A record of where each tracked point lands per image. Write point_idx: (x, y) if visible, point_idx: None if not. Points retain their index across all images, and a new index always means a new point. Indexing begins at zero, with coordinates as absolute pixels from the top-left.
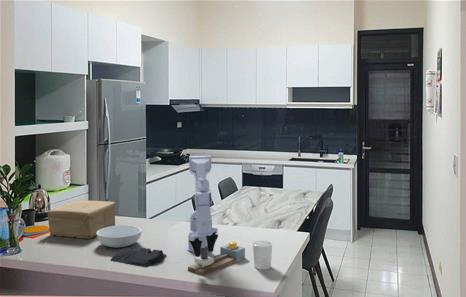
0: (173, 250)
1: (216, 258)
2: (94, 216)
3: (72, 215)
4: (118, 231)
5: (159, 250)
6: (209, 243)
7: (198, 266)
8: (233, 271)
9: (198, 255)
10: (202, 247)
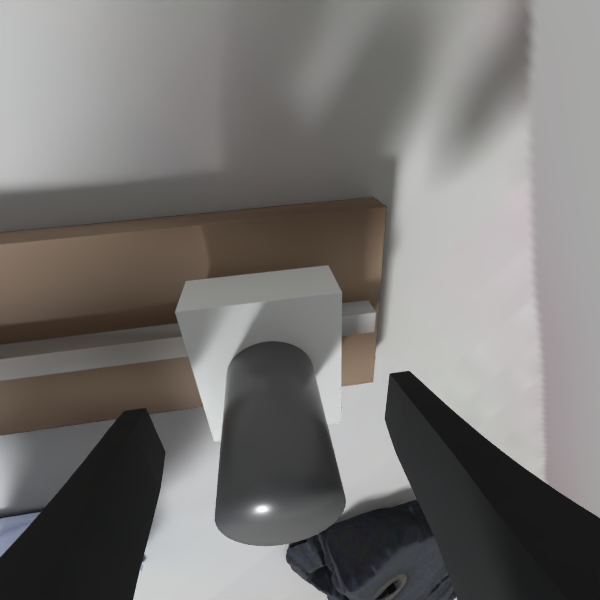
0: (205, 580)
1: (75, 359)
2: None
3: None
4: None
5: (355, 593)
6: (114, 578)
7: (359, 313)
8: (26, 7)
9: (424, 388)
10: (313, 511)
